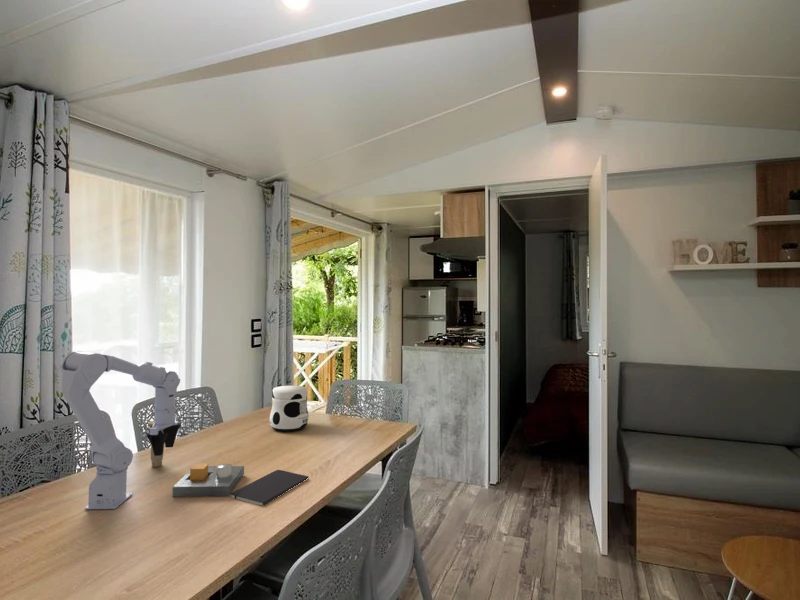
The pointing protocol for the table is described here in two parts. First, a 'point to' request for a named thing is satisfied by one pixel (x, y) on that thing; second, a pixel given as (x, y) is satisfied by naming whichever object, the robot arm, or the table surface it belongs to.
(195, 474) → the orange rectangular block
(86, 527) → the table surface
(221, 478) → the hub plate
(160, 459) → the handle
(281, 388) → the milk container
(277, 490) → the notebook
